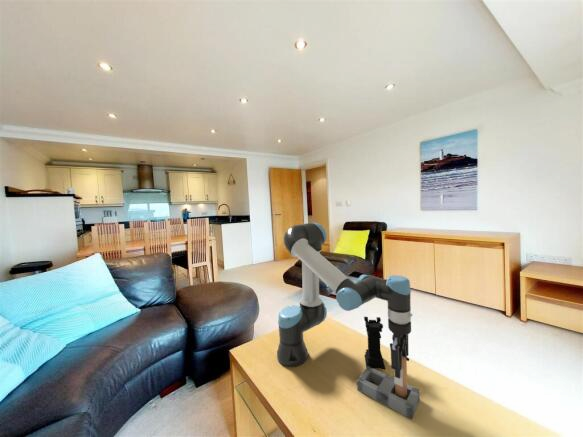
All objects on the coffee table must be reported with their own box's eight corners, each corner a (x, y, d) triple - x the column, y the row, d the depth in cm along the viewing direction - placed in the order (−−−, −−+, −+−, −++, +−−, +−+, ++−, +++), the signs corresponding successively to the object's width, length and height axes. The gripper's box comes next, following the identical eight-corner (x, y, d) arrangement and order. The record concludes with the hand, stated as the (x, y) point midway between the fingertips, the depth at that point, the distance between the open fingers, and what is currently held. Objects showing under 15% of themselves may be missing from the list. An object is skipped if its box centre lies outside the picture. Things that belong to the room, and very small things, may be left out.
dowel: (393, 394, 86) (392, 359, 85) (397, 388, 89) (396, 353, 88) (405, 400, 84) (404, 363, 83) (408, 393, 87) (407, 357, 85)
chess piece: (385, 369, 103) (384, 326, 102) (366, 367, 105) (364, 325, 103) (382, 357, 111) (380, 316, 109) (364, 356, 113) (363, 316, 111)
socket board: (357, 389, 93) (356, 380, 93) (368, 374, 101) (367, 366, 100) (411, 419, 80) (411, 408, 79) (419, 399, 87) (419, 389, 87)
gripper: (402, 333, 75) (404, 401, 77) (417, 313, 88) (418, 371, 90) (379, 326, 81) (381, 390, 82) (396, 307, 93) (397, 363, 95)
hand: (400, 380), depth 86 cm, fingers closed on dowel, 4 cm apart
